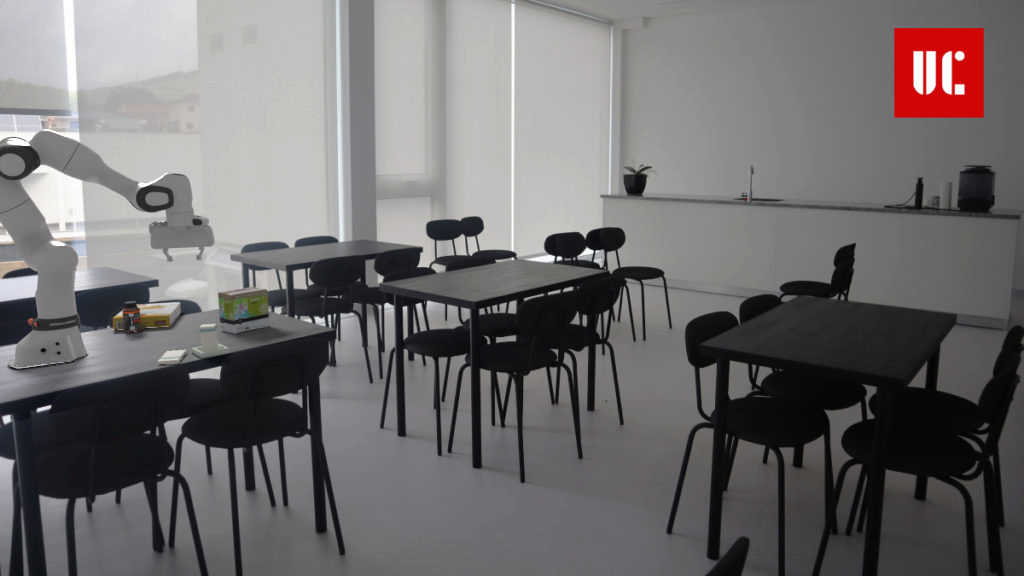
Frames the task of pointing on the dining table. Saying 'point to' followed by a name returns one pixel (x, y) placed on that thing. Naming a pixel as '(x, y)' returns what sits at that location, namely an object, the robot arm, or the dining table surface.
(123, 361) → the dining table surface
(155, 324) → the cereal box
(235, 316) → the tea box
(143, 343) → the dining table surface
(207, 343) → the white teal striped box
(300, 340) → the dining table surface
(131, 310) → the supplement bottle
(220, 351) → the tray
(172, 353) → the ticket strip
